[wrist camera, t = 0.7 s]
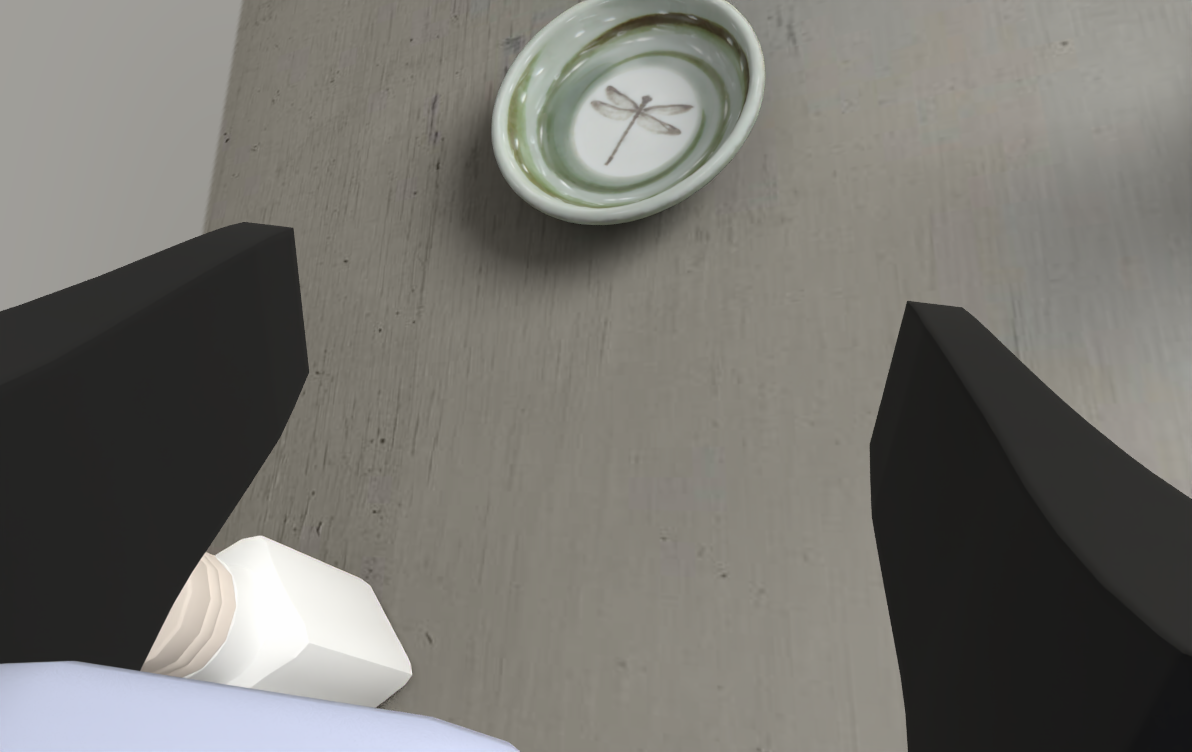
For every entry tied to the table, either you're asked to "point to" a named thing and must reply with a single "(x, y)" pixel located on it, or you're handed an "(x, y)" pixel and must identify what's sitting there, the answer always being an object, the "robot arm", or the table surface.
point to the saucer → (627, 107)
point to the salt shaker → (280, 628)
